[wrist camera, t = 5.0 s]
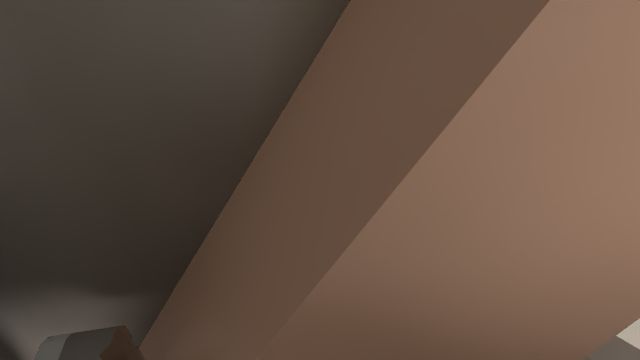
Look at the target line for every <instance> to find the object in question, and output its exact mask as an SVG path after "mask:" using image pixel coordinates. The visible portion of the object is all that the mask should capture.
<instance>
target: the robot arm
mask: <svg viewBox="0 0 640 360" xmlns="http://www.w3.org/2000/svg"><path fill="white" fill-rule="evenodd" d="M130 339H131V334H130V333H129V332H128V330H127V329H126V327H125V326H117V327H110V328H103V329H96V330H90V331H83V332H76V333H71V334H65V335H58V336H52V337H48V338H47V339H46V340H45V341H44V342H43V343H42V344H41V345H40V347H39V350H38V352H37V354H36V357H35V359H34V360H145V359H144V356H143V354H142V352H141V351H140V349H139V348H137V347H134V346H132V345H130V344H129V343H130ZM583 360H640V350H639V349H638V348H636V347H634V346H633V345H631V344H629V343H627V342H626V341H624V340H622V339H621V338H619V337H617V336H614V337H613V338H612V339H610V340H609V341H608V342H606V343H605V344H604V345H602V346H601V347H599V348H598V349H597V350H595V351H594V352H593V353H591V354H590V355H589V356H587V357H586V358H584V359H583Z"/></svg>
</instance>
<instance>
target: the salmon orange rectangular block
mask: <svg viewBox="0 0 640 360" xmlns="http://www.w3.org/2000/svg"><path fill="white" fill-rule="evenodd" d="M639 318H640V0H350V2H349V3H348V5H347V7H346V8H345V10H344V12H343V13H342V15H341V16H340V18H339V20H338V21H337V23H336V25H335V26H334V28H333V30H332V31H331V33H330V34H329V36H328V38H327V39H326V41H325V43H324V44H323V46H322V48H321V49H320V51H319V53H318V54H317V56H316V57H315V59H314V61H313V62H312V64H311V66H310V67H309V69H308V71H307V72H306V74H305V75H304V77H303V79H302V80H301V82H300V84H299V85H298V87H297V89H296V90H295V92H294V94H293V95H292V97H291V98H290V100H289V102H288V103H287V105H286V107H285V108H284V110H283V112H282V113H281V115H280V116H279V118H278V120H277V121H276V123H275V125H274V126H273V128H272V130H271V131H270V133H269V135H268V136H267V138H266V139H265V141H264V143H263V144H262V146H261V148H260V149H259V151H258V153H257V154H256V156H255V157H254V159H253V161H252V162H251V164H250V166H249V167H248V169H247V171H246V172H245V174H244V176H243V177H242V179H241V180H240V182H239V184H238V185H237V187H236V189H235V190H234V192H233V194H232V195H231V197H230V198H229V200H228V202H227V203H226V205H225V207H224V208H223V210H222V212H221V213H220V215H219V217H218V218H217V220H216V221H215V223H214V225H213V226H212V228H211V230H210V231H209V233H208V235H207V236H206V238H205V239H204V241H203V243H202V244H201V246H200V248H199V249H198V251H197V253H196V254H195V256H194V258H193V259H192V261H191V262H190V264H189V266H188V267H187V269H186V271H185V272H184V274H183V276H182V277H181V279H180V280H179V282H178V284H177V285H176V287H175V289H174V290H173V292H172V294H171V295H170V297H169V299H168V300H167V302H166V303H165V305H164V307H163V308H162V310H161V312H160V313H159V315H158V317H157V318H156V320H155V322H154V323H153V325H152V326H151V328H150V330H149V331H148V333H147V335H146V336H145V338H144V340H143V341H142V343H141V344H140V346H139V349H140V351H141V352H142V354H143V356H144V359H145V360H583V359H584V358H586V357H587V356H589V355H590V354H591V353H593V352H594V351H595V350H597V349H598V348H599V347H601V346H602V345H604V344H605V343H606V342H608V341H609V340H610V339H612V338H613V337H614V336H616V335H617V334H619V333H620V332H621V331H623V330H624V329H625V328H627V327H628V326H630V325H631V324H632V323H634V322H635V321H636V320H638V319H639Z"/></svg>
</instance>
